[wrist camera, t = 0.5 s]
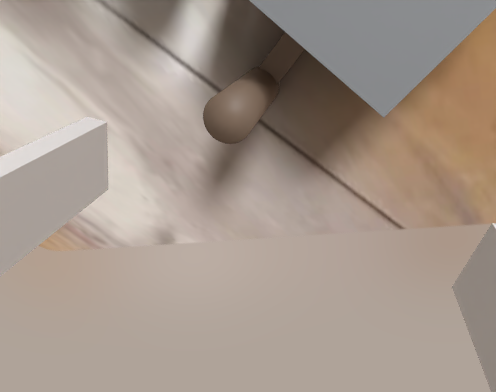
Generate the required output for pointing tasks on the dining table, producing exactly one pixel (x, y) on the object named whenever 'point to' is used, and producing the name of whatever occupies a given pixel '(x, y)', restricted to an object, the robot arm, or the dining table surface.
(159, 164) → the dining table surface
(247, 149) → the dining table surface
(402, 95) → the grey step stool
